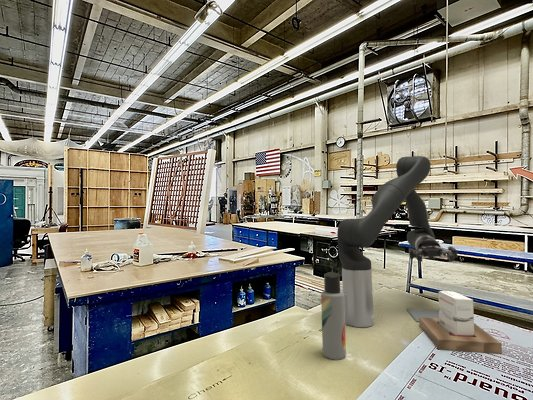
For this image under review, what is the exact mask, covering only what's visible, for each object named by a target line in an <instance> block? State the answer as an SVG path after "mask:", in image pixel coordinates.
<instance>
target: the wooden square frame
mask: <svg viewBox="0 0 533 400" xmlns="http://www.w3.org/2000/svg"><path fill="white" fill-rule="evenodd" d="M418 323H419V325H418V326H419V327H420V328H421V329H422V331H423V332H424V333H425V335H426V336H427V335H428V336H429V337H428V336H427V337H428V338H429V339H430V341H431V342H432V341H433V342H432V343H433V344H434V345H435V347H436V346H437V347H436V348H437V349H438V350H443V351H453V352H454V351H455V352H470V353H485V354H486V353H487V354H500V355H501V354H503V348H502V345H503V343H502V342H501V341H499V340H497V339H496V338H495V337H494V336H493V335H491V334H490V333H488V332H487V331H485V330H484V329H483V328H482V327H481V326H479V325H477V324H476V323H475V322H474V337H464V336H450V335H449V334H448V333H447V332H446V331H445V330H444V329H443V328H442V327H441V326H440V325H439V318H421V317H419V322H418Z"/></svg>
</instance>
